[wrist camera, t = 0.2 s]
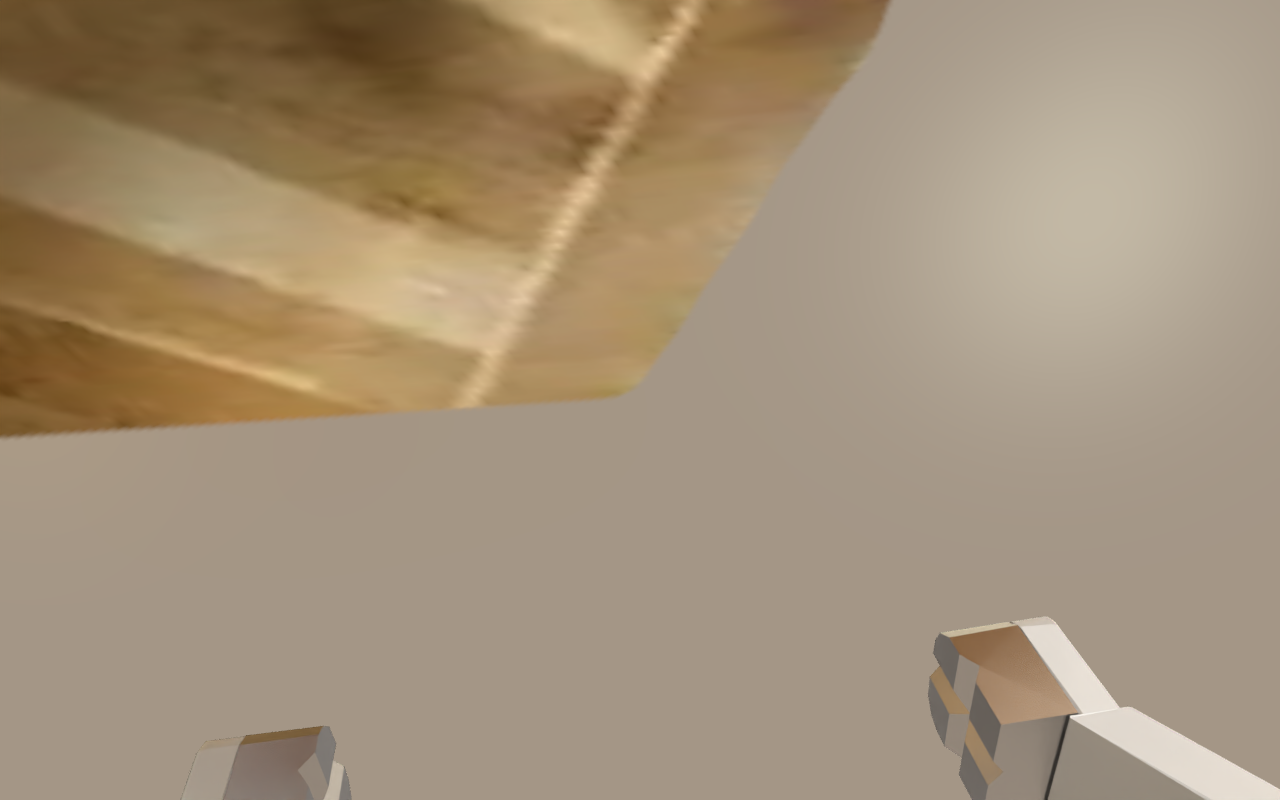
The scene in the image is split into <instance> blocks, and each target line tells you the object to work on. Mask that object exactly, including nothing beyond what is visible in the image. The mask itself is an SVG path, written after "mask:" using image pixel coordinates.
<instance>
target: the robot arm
mask: <svg viewBox="0 0 1280 800" xmlns="http://www.w3.org/2000/svg"><path fill="white" fill-rule="evenodd" d="M933 654H934V655H935V658H936V659H937V661H938V663H939V665H940V666H939V667H938V668H937V670H936V671H935V672H934V673H933V674H932V675H931V676H930V680H929V691H928V697H929V704H930V710H931V715H932V718H933V721H934V724H935V727H936V730H937V732H938V734H939V736H940V738H941V740H942V742H943V744H944V746H945V747H946V748H948V749H949V750H951V751H952V752H954V753H955V754H957V755H958V756H960V757H961V758H962V759H961V765H960V772H959V776H960V778H961V780H962V782H963V784H964V785H965V787H966V789H967V791H968V793H969V795H970V797H971V799H972V800H1280V789H1278V788H1276V787H1274V786H1273V785H1271V784H1269V783H1267V782H1266V781H1264V780H1262V779H1260V778H1258V777H1257V776H1255V775H1253V774H1251V773H1249V772H1248V771H1246V770H1244V769H1242V768H1240V767H1238V766H1237V765H1235V764H1233V763H1231V762H1230V761H1228V760H1226V759H1224V758H1222V757H1220V756H1219V755H1217V754H1215V753H1213V752H1211V751H1210V750H1208V749H1206V748H1204V747H1202V746H1201V745H1199V744H1197V743H1195V742H1193V741H1192V740H1190V739H1188V738H1186V737H1184V736H1183V735H1181V734H1179V733H1177V732H1175V731H1174V730H1172V729H1170V728H1168V727H1166V726H1165V725H1163V724H1161V723H1159V722H1157V721H1156V720H1154V719H1152V718H1150V717H1148V716H1147V715H1145V714H1143V713H1141V712H1139V711H1138V710H1136V709H1134V708H1132V707H1123V708H1120V707H1119V706H1118V705H1117V704H1116V702H1115V701H1114V700H1113V698H1112V697H1111V696H1110V694H1109V693H1108V692H1107V690H1106V689H1105V688H1104V686H1103V685H1102V684H1101V682H1100V681H1099V680H1098V678H1097V677H1096V676H1095V674H1094V673H1093V672H1092V670H1091V669H1090V668H1089V666H1088V665H1087V664H1086V663H1085V661H1084V660H1083V659H1082V657H1081V656H1080V655H1079V653H1078V652H1077V651H1076V649H1075V648H1074V647H1073V645H1072V644H1071V643H1070V641H1069V640H1068V639H1067V637H1066V636H1065V635H1064V633H1063V632H1062V631H1061V629H1060V628H1059V627H1058V626H1057V624H1056V623H1055V621H1053V620H1052V619H1050V618H1048V617H1047V616H1045V617H1039V618H1032V619H1026V620H1019V621H1013V622H1010V623H1008V622H1004V623H998V624H991V625H986V626H979V627H973V628H967V629H961V630H954V631H948V632H942V633H940V634H939V635H938V637H937V638H936V640H935V645H934V651H933ZM335 747H336V742H335V739H334V737H333V735H332V732H331V730H330V727H328V726H320V727H312V728H303V729H295V730H287V731H279V732H271V733H263V734H256V735H246V736H243V737H235V738H227V739H219V740H212V741H206V742H205V743H204V744H203V746H202V747H201V748H200V750H199V751H198V752H197V754H196V756H195V759H194V762H193V765H192V768H191V771H190V774H189V777H188V779H187V782H186V785H185V788H184V791H183V794H182V797H181V800H351V791H350V785H349V780H348V776H347V773H346V770H345V767H344V766H343V765H341V764H339V763H338V762H336V761H334V760H333V759H334V753H335Z"/></svg>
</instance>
